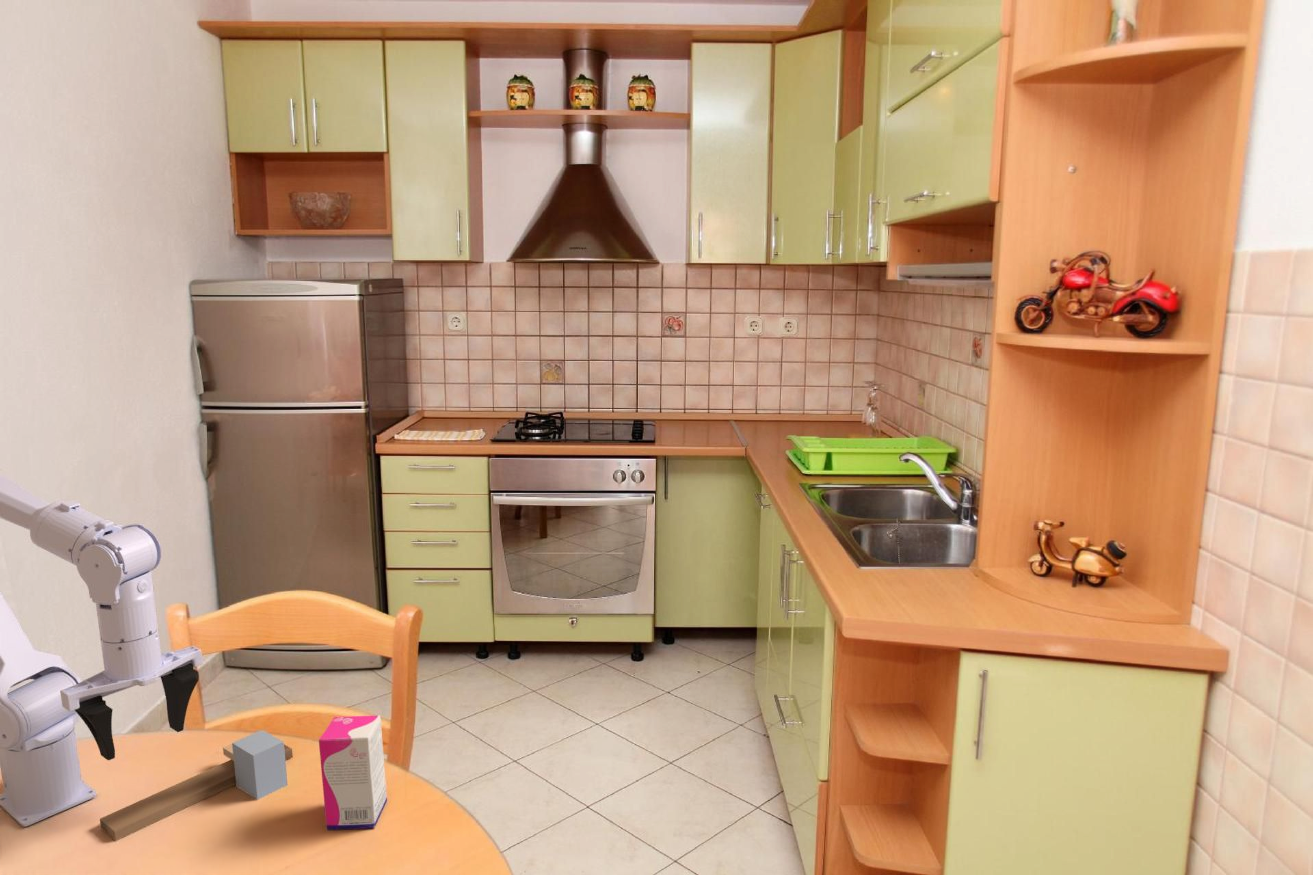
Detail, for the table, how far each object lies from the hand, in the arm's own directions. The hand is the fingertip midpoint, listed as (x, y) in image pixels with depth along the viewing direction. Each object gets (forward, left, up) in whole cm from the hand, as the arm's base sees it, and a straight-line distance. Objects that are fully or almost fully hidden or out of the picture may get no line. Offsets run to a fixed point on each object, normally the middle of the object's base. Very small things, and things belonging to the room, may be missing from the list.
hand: (143, 742), depth 104 cm
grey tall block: (+1, +11, -10) cm, 15 cm away
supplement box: (+19, +15, -10) cm, 26 cm away
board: (-1, +7, -10) cm, 12 cm away
